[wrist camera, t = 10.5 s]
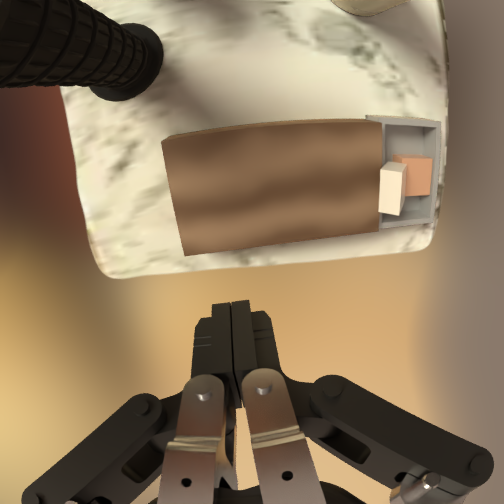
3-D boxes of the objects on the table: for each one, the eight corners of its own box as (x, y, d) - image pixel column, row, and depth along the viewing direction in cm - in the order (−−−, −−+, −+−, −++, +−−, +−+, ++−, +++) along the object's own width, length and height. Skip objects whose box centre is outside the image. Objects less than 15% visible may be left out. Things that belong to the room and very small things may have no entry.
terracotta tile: (432, 158, 31) (422, 154, 33) (402, 158, 31) (392, 154, 33) (429, 194, 34) (419, 189, 36) (400, 196, 34) (390, 190, 36)
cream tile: (380, 169, 29) (402, 172, 28) (387, 161, 32) (406, 164, 31) (378, 211, 31) (398, 215, 30) (386, 199, 35) (404, 202, 34)
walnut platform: (170, 136, 31) (161, 141, 27) (362, 118, 32) (381, 122, 27) (189, 237, 37) (184, 256, 33) (362, 215, 38) (378, 231, 33)
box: (365, 115, 31) (378, 117, 28) (425, 118, 32) (441, 121, 28) (364, 218, 38) (375, 229, 35) (420, 212, 38) (433, 222, 35)
